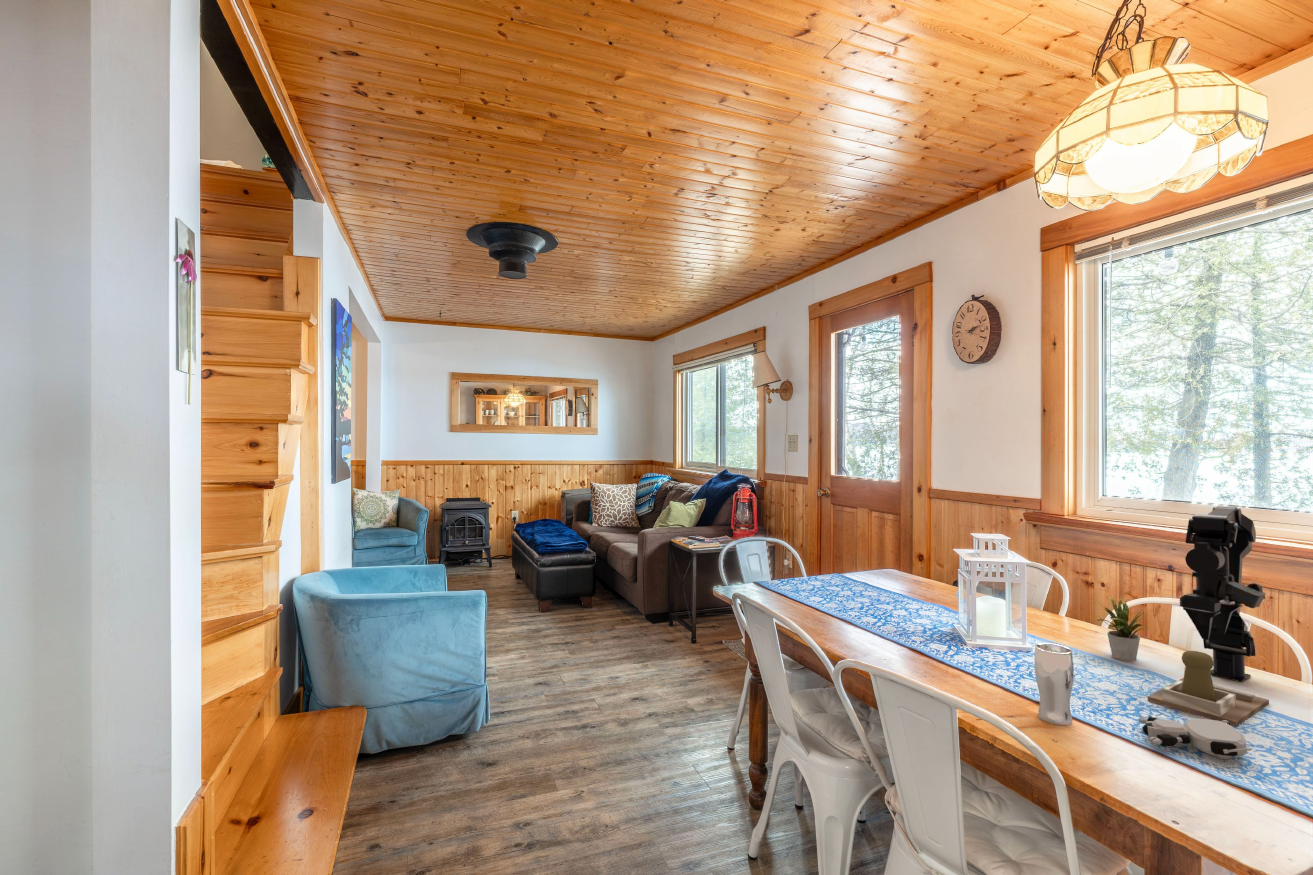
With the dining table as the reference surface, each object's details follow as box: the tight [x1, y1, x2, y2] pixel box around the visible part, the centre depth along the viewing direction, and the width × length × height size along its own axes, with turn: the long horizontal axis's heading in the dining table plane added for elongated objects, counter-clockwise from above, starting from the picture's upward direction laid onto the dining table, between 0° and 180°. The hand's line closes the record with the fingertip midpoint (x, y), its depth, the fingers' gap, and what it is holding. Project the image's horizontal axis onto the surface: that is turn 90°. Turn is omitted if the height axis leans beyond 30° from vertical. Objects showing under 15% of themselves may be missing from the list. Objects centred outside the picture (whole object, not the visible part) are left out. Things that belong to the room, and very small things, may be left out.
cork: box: [1181, 650, 1216, 702], centre depth 132 cm, size 6×6×11 cm
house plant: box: [1089, 596, 1153, 662], centre depth 164 cm, size 14×14×16 cm
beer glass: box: [1034, 642, 1075, 726], centre depth 128 cm, size 7×7×15 cm
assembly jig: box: [1147, 677, 1270, 727], centre depth 134 cm, size 20×15×4 cm
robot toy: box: [1137, 716, 1253, 760], centre depth 115 cm, size 12×4×15 cm
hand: (1213, 636), depth 140 cm, fingers open, 9 cm apart
